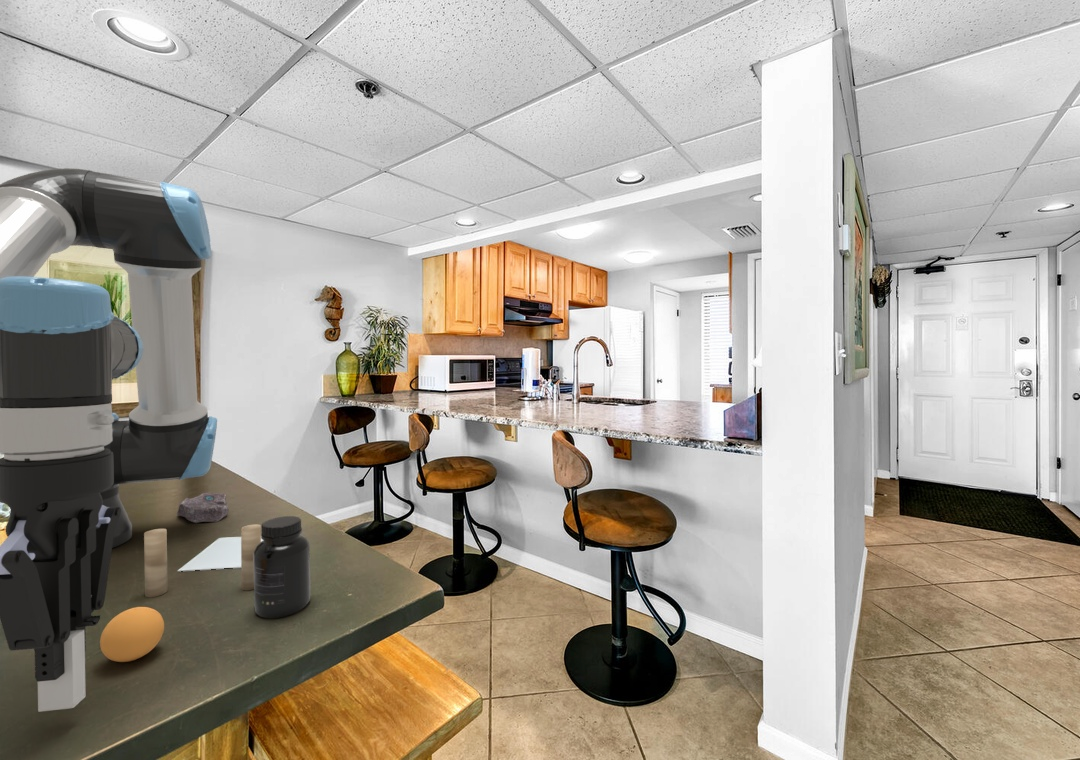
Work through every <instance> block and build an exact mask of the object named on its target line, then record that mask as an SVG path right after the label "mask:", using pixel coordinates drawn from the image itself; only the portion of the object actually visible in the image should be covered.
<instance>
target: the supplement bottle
mask: <svg viewBox="0 0 1080 760" xmlns="http://www.w3.org/2000/svg"><path fill="white" fill-rule="evenodd" d="M302 533H303V527H302V519H301V518H300V517H299V516H294V515H287V516H284V515H283V516H278V517H277V516H276V517H273V518H270V519H267V520H266V521H263V522H262V524H261V539H262V540H263V541H262V542H260V543H259V544H258V545H257V546H256V548H255V550H254V553H253V563H254V589H253V595H254V597H253V598H254V600H253V601H254V612H255V614H256V615H258V616H259V617H261V618H264V619H280V618H283V617H288V616H291V615H294V614H296V613H298V612H300V611H301V610H303V609H304V608H305V607H306V606H307V605H308V604H309V602H310V600H311V553H310V552H311V551H310V550H311V549H310V548H311V547H310V541H309V539H308V538H307V537H306V536H304V535H303V534H302Z"/></svg>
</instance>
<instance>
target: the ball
mask: <svg viewBox="0 0 1080 760" xmlns="http://www.w3.org/2000/svg"><path fill="white" fill-rule="evenodd" d="M164 631H165V621H164V617H163V616H162V614H161V613H160V612H159V611H157V610H156V609H154V608H151V607H147V606H136V607H131V608H129V609H126V610H124V611H122V612H119V614H117V615H116V616H114V617H112V619H111V620H110V621H109V622H108V623H107V624H106V625H105V627H104V629H103V630H102V632H101V635H100V640H99V645H100V646H99V647H100V651H101V652H102V654H103V655H104V656H105V657H106V658H107V659H109V660H111V661H113V662H117V663H118V662H119V663H126V662H127V663H128V662H132V661H136V660H137V659H140V658H142V657H144V656H145V655H148V654H149V653H150V652H151V651H152V650H153V649H154V648H155V647H156V646H157V645H158V643H159V642H160V641H161V639H162V636H163V634H164Z"/></svg>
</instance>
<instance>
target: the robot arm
mask: <svg viewBox="0 0 1080 760" xmlns="http://www.w3.org/2000/svg"><path fill="white" fill-rule="evenodd" d="M210 237H211V236H210V232H209V225H208V221H207V215H206V213H205V208H204V204H203V201H202V200H201V197H200V196H199V195H198V193H197V192H196V191H194V190H193V189H192V188H189V187H186V186H181V185H177V184H173V183H169V182H168V183H167V182H166V181H155V180H149V179H142V178H136V177H130V176H124V175H120V174H119V175H117V174H113V173H104V172H98V171H93V170H90V169H88V170H87V169H82V168H67V167H66V168H65V167H64V168H52V169H45V170H40V171H39V170H38V171H34V172H30V173H26V174H24V175H23V174H22V175H20V176H17V177H14V178H11V179H9V180H6V181H4V182H2V183H1V184H0V455H3V457H1V458H0V503H1V504H5V505H6V506H7V507H8V508H9V510H10V515H9V518H8V521H7V522H6V525H5V535H6V536H7V538H5V540H4V541H3V542H2V543H1V545H0V623H1V626H2V630H3V632H4V633H3V634H4V636H5V640H6V643H7V646H8V649H9V651H24V650H34V671H35V672H34V675H35V676H34V678H35V680H36V682H37V711H38V713H39V712H49V711H56V710H57V711H58V710H67V709H68V710H69V709H73V708H75V707H76V706H77V705H78V704H79V703H80V702H81V701H83V700H84V699H85V698H86V693H87V692H86V652H87V642H86V641H87V639H86V638H87V637H86V633H87V632H86V627H94V626H97V625H98V623H99V622H100V620H101V617H102V616H101V614H100V615H99V614H98V615H92V614H93V612H94V611H99V610H101V609H102V608H103V606H104V605H105V599H106V593H107V587H108V586H107V585H108V580H109V571H110V564H111V559H112V558H111V557H112V550H113V549H114V548H116V547H119V546H121V545H122V544H125V543H127V542H128V541H129V540H130V539H131V538H132V537H133V524H132V522H131V520H130V518H129V515H128V513H127V511H126V509H125V507H124V505H123V503H122V501H121V499H120V493H119V492H120V485H123V484H124V485H126V484H137V483H138V484H139V483H147V482H148V483H149V482H150V483H151V482H160V481H162V482H163V481H173V480H179V481H182V480H184V479H190V478H197V477H198V478H199V477H203V476H205V475H206V474H207V473H208V472H209V471H210V468H211V465H212V462H213V456H214V449H215V442H216V435H217V428H218V427H217V426H218V418H217V417H213V416H208V408H207V406H205V405H204V404H202V403H201V402H199V401H198V389H197V388H198V387H197V385H198V384H197V367H196V366H197V365H196V347H195V346H196V344H195V343H196V342H195V328H194V327H195V326H194V323H195V322H194V307H193V305H194V304H193V285H192V284H193V283H192V279H193V276H194V275H195V274H197V273H198V272H199V271H201V270H202V260H204V261H205V260H209V259H210V258H211V256H212V246H211V238H210ZM73 246H76V247H77V246H79V247H81V246H82V247H93V248H99V249H108V250H112V251H113V258H114V259H113V261H114V263H115V264H117V265H118V266H119V267H120V268H122V269H123V270H124V271H125V272H126V274H127V281H128V291H129V292H128V293H129V303H130V315H131V316H130V317H131V318H130V319H131V325H130V324H129V323H128V322H126V321H124V319H121V318H119V317H118V316H116V315H115V314H114V313H113V311H112V304H111V295H110V292H109V291H108V290H107V289H105V288H104V287H103V286H101V285H98V284H94V283H91V282H86V281H80V280H70V279H65V278H64V279H63V278H51V277H42V276H41V277H40V276H39V277H37V276H36V274H37V273H38V272H39V271H40V269H41V268H42V267H43V266H44V265H45V264H46V262H47V261H48V259H49V258H50V257H51V255H53V254H59V253H61V252H63V251H65V250H67V249H68V248H70V247H73ZM133 369H135V376H136V386H137V387H136V388H137V397H138V398H137V399H138V405H137V406H136V407H135V408H133V409H132V410H131V411H130V412H129V414H128V420H127V419H126V420H120V416H119V415H118V414H117V413H116V412H113V409H112V408H113V407H112V402H113V380H114V379H115V380H116V379H119V378H120V377H123V376H125V375H126V374H128V373H129V372H131V371H132V370H133Z"/></svg>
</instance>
